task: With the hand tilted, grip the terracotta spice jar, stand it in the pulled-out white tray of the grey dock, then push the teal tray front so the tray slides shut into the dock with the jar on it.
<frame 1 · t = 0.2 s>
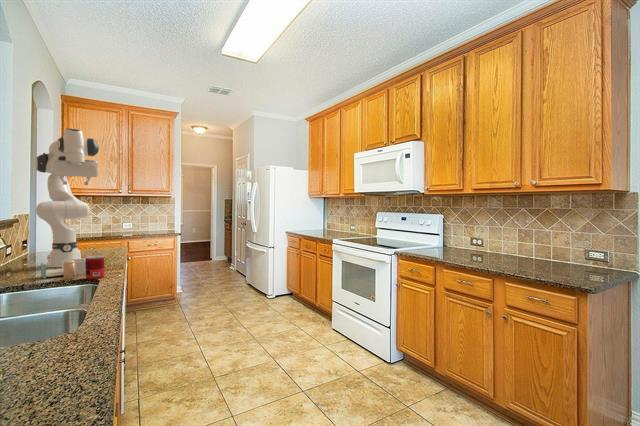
hand: (75, 184, 177), 48 cm above the countertop, tool pointing down, fingers open, 8 cm apart
canned food: (95, 278, 168), on the countertop
jar: (69, 279, 165), on the countertop
tray: (54, 268, 171), point 4 cm above the countertop, slide at 8.0 cm
housing: (75, 273, 178), on the countertop
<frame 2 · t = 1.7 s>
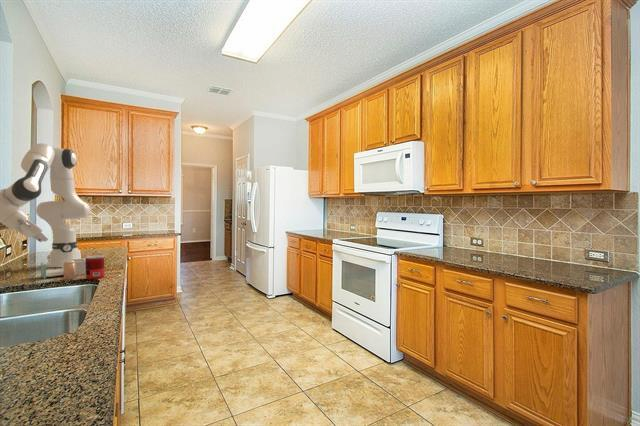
hand: (44, 240, 158), 20 cm above the countertop, tool tilted 45°, fingers open, 8 cm apart
nothing on the countertop moved.
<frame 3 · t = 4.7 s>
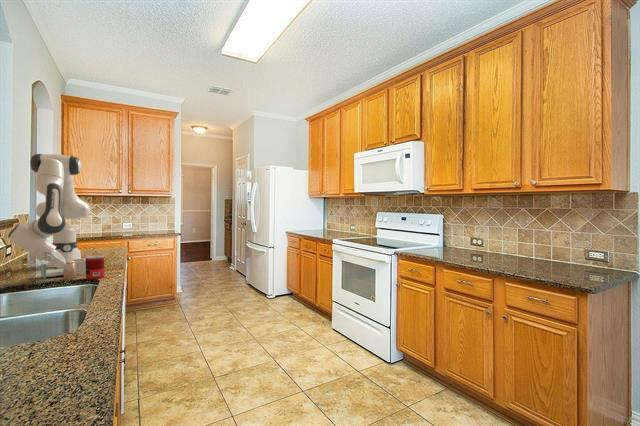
hand: (71, 269, 165), 5 cm above the countertop, tool tilted 45°, fingers closed on jar, 5 cm apart
jar: (69, 279, 165), on the countertop, touching gripper
everything else where it was.
when the fingers open (7 cm above the countertop, at t = 9.1 s): jar stays where it is, resting on tray.
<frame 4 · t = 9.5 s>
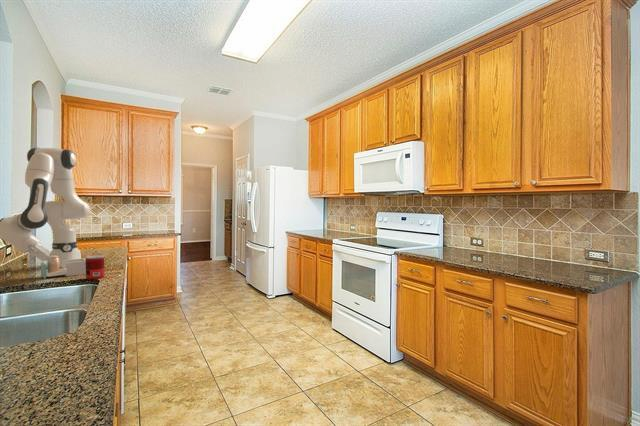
hand: (55, 261, 171), 7 cm above the countertop, tool tilted 45°, fingers open, 8 cm apart
jar: (53, 273, 171), point 2 cm above the countertop, touching tray
tray: (54, 268, 171), point 4 cm above the countertop, slide at 8.0 cm, touching jar
everything else where it was.
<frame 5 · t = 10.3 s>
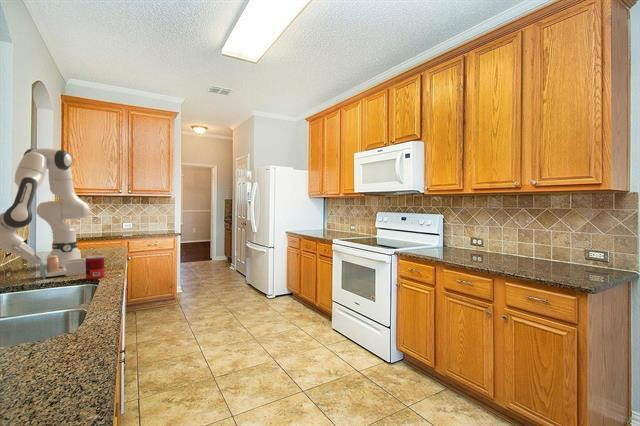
hand: (40, 261, 167), 8 cm above the countertop, tool tilted 45°, fingers open, 8 cm apart
tray: (53, 269, 171), point 4 cm above the countertop, slide at 8.4 cm, touching jar
everything else where it was.
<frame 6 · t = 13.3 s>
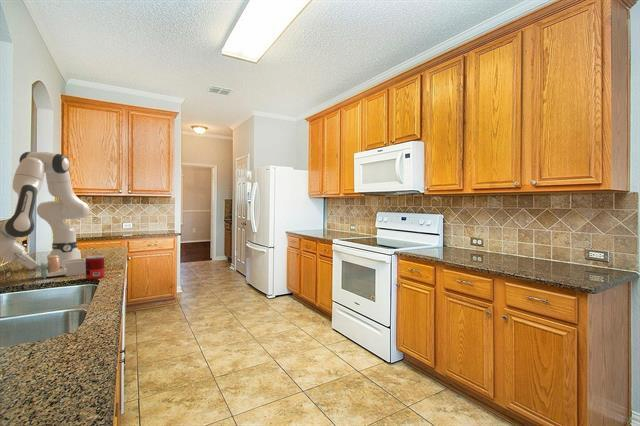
hand: (40, 269, 167), 4 cm above the countertop, tool tilted 45°, fingers closed, pressing on tray
tray: (54, 268, 171), point 4 cm above the countertop, slide at 8.0 cm, touching gripper, jar
everything else where it was.
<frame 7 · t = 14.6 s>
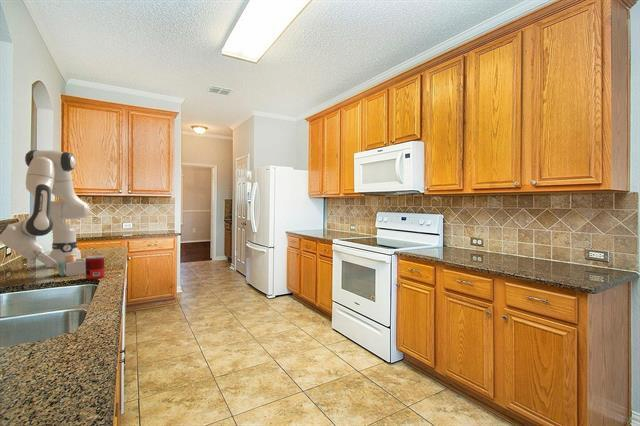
hand: (58, 267, 172), 4 cm above the countertop, tool tilted 45°, fingers closed, pressing on tray
jar: (70, 271, 176), point 2 cm above the countertop, touching tray
tray: (71, 267, 176), point 4 cm above the countertop, slide at 0.9 cm, touching gripper, jar
everything else where it was.
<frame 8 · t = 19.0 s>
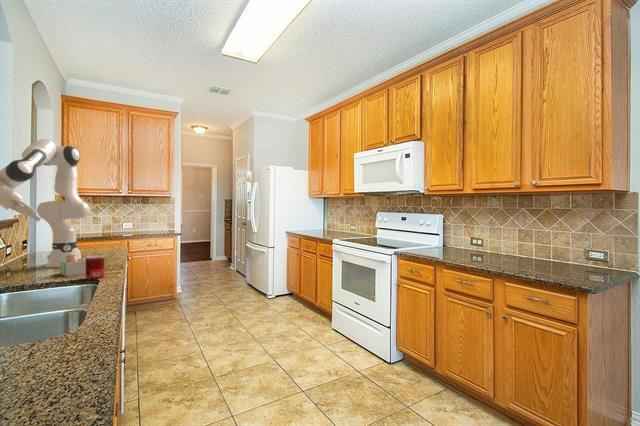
hand: (39, 220, 167), 29 cm above the countertop, tool tilted 45°, fingers closed
tray: (73, 266, 177), point 4 cm above the countertop, slide at 0.0 cm, touching jar
everything else where it was.
at the end: tray slide at 0.0 cm; jar inside the target area on the housing (0.8 cm from its centre), point 1.7 cm above the housing's base; jar tilted 2° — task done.
